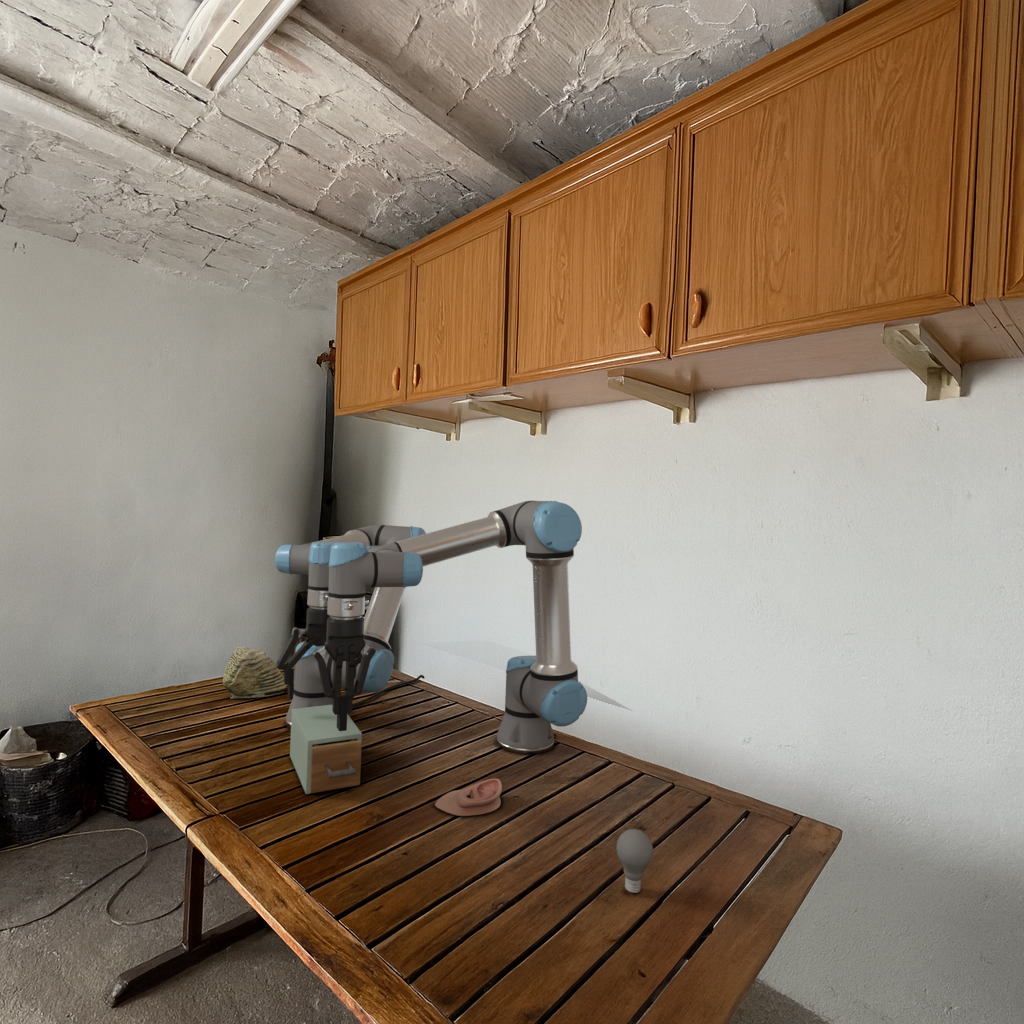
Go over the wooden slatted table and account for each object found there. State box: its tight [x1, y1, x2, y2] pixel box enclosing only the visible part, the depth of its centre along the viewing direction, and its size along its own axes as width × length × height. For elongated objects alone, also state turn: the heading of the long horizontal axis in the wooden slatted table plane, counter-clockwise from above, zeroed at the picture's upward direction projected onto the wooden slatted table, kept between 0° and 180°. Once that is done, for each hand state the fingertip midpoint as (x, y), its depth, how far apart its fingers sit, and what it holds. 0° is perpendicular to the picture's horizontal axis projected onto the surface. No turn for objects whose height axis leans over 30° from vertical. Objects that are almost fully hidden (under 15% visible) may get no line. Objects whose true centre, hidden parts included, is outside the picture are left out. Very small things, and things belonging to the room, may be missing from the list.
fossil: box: [222, 646, 288, 699], centre depth 198 cm, size 9×18×15 cm, turn 132°
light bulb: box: [615, 828, 654, 894], centre depth 106 cm, size 6×6×10 cm
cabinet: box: [289, 705, 363, 795], centre depth 147 cm, size 22×12×12 cm, turn 28°
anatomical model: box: [434, 778, 503, 817], centre depth 133 cm, size 13×4×12 cm
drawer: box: [310, 739, 363, 794], centre depth 142 cm, size 26×10×10 cm, turn 28°
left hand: (319, 695), depth 152 cm, fingers open, 13 cm apart
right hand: (341, 728), depth 132 cm, fingers closed
